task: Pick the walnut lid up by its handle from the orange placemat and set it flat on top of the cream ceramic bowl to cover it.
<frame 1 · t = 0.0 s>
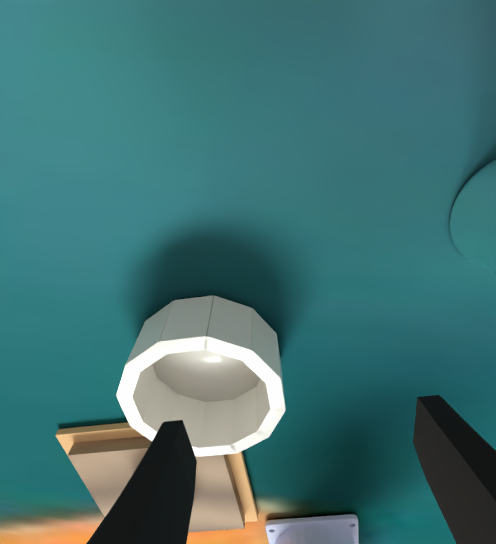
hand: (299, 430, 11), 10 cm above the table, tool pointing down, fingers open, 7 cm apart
mat: (166, 475, 29), on the table
bowl: (209, 353, 23), on the table
lid: (165, 481, 28), resting on mat
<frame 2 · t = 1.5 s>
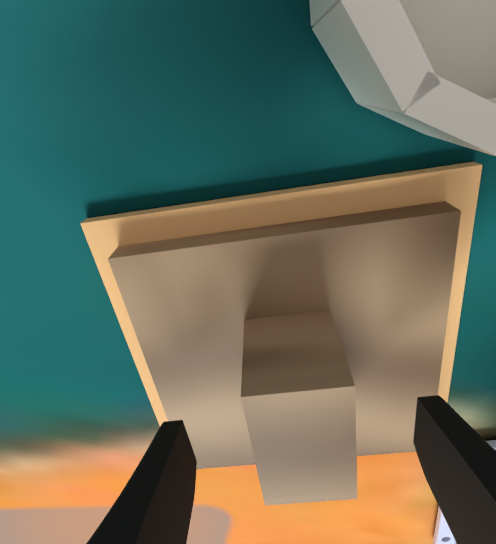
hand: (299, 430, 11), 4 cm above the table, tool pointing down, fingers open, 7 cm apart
mat: (290, 343, 15), on the table
lid: (291, 351, 15), resting on mat
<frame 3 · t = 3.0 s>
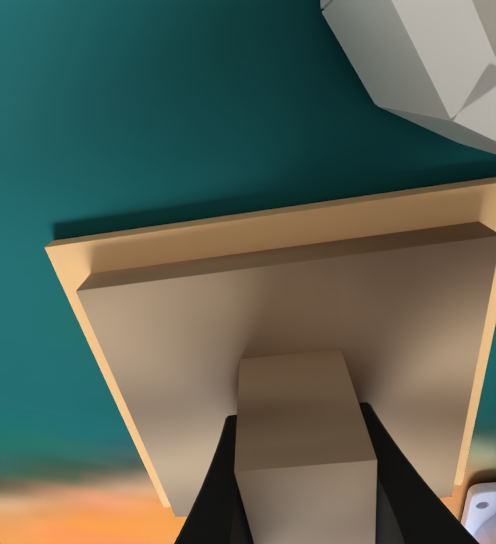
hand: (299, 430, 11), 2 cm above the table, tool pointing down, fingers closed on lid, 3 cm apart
mat: (292, 378, 13), on the table
lid: (294, 389, 13), resting on mat, touching gripper
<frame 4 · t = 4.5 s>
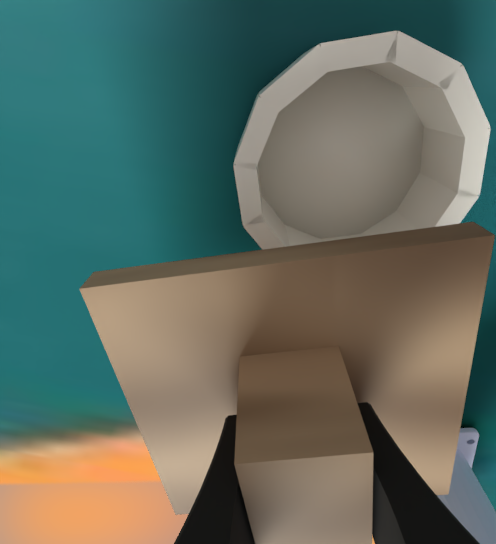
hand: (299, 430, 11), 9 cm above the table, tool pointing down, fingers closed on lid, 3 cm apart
bowl: (335, 159, 16), on the table
lid: (292, 387, 13), point 8 cm above the table, touching gripper
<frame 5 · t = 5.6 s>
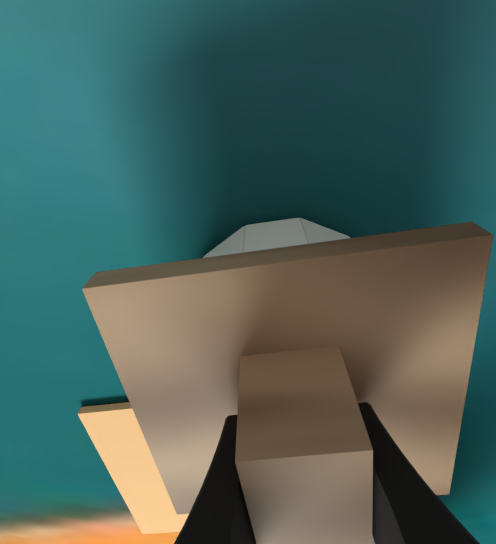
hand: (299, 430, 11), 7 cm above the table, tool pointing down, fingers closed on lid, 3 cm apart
mat: (211, 466, 24), on the table
bowl: (282, 303, 17), on the table
lid: (293, 386, 13), point 5 cm above the table, touching gripper
when the fingers open (7 cm above the table, at t = 6.3 s): lid drops 1 cm, resting on bowl.
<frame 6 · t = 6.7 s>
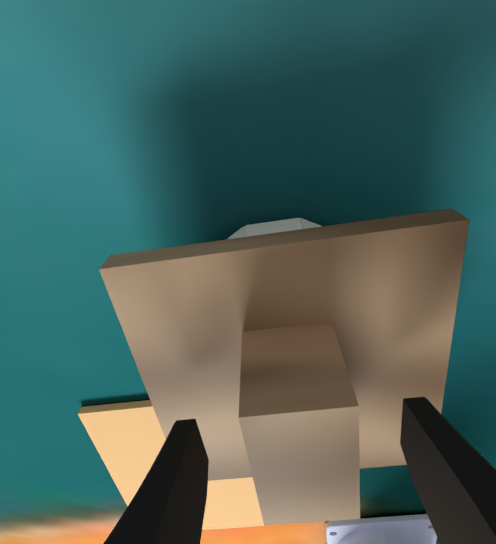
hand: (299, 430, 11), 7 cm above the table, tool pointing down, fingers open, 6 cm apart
mat: (211, 466, 24), on the table
bowl: (282, 303, 18), on the table
lid: (290, 362, 14), point 4 cm above the table, touching bowl
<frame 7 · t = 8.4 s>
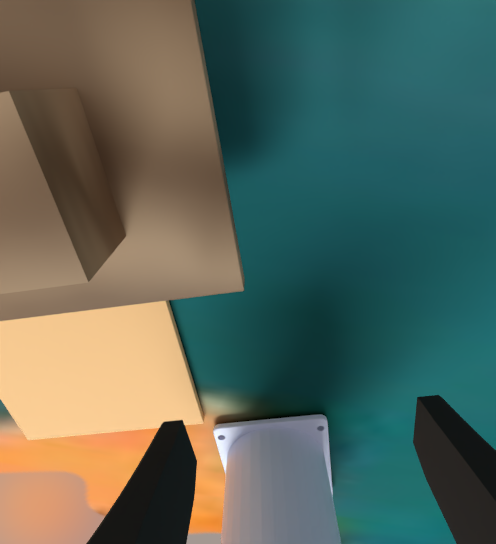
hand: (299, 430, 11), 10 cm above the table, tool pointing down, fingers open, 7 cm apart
mat: (83, 357, 23), on the table
lid: (75, 169, 13), point 4 cm above the table, touching bowl
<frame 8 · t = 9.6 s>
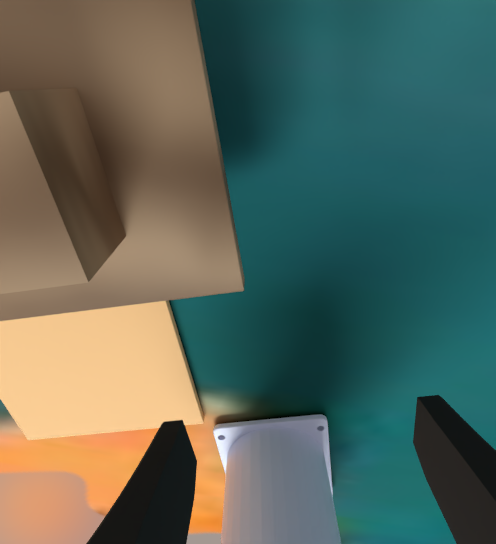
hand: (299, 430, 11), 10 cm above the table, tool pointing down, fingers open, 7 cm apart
mat: (83, 357, 23), on the table
lid: (75, 169, 13), point 4 cm above the table, touching bowl
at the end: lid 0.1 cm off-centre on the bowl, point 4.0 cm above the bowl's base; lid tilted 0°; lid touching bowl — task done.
